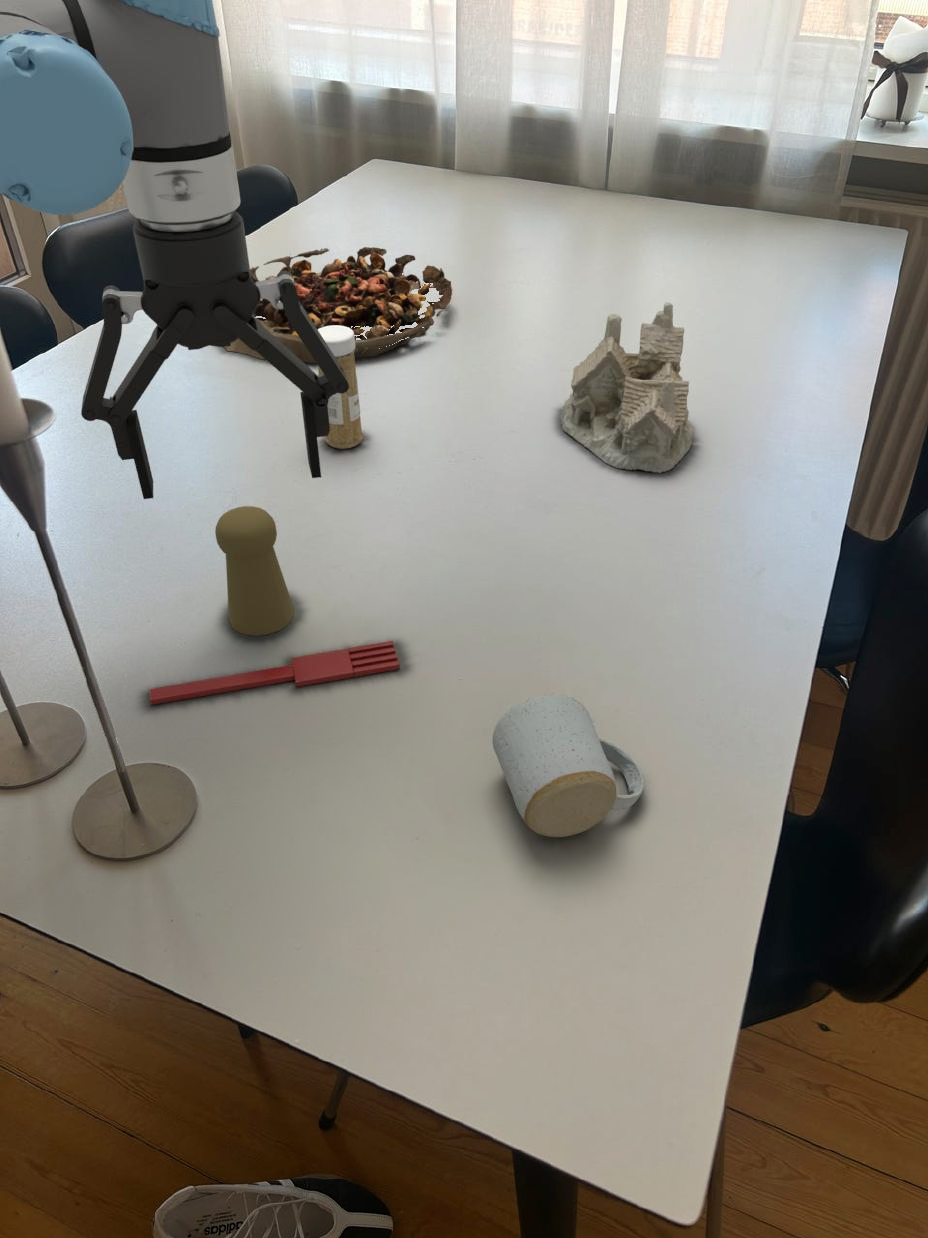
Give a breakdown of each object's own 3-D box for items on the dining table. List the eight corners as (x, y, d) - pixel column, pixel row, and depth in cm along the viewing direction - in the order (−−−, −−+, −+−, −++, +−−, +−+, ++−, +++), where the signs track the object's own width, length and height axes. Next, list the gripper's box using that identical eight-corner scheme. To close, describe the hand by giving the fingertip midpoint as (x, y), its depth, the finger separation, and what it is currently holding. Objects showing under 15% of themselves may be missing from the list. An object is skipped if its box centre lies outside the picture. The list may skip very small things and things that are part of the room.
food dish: (438, 275, 157) (439, 226, 152) (466, 366, 133) (467, 312, 128) (219, 280, 153) (212, 230, 148) (205, 376, 128) (197, 319, 123)
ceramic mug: (522, 855, 69) (528, 784, 64) (489, 770, 75) (492, 699, 70) (659, 824, 71) (675, 752, 66) (617, 744, 77) (628, 673, 72)
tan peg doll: (216, 613, 90) (193, 514, 83) (270, 586, 93) (253, 488, 86) (251, 644, 86) (231, 544, 79) (307, 615, 89) (292, 516, 82)
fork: (151, 712, 80) (149, 707, 80) (151, 686, 82) (149, 681, 82) (399, 669, 84) (399, 664, 83) (393, 645, 86) (392, 640, 86)
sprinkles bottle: (370, 443, 114) (361, 334, 105) (336, 454, 112) (324, 344, 103) (351, 427, 117) (341, 320, 108) (318, 437, 115) (305, 329, 106)
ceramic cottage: (573, 392, 123) (584, 279, 112) (702, 418, 118) (726, 303, 108) (536, 459, 112) (544, 340, 102) (675, 490, 108) (699, 369, 97)
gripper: (-12, 246, 62) (73, 524, 75) (374, 217, 66) (389, 483, 80) (1, 211, 67) (78, 475, 81) (357, 186, 72) (373, 440, 85)
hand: (233, 480), depth 80 cm, fingers open, 13 cm apart
